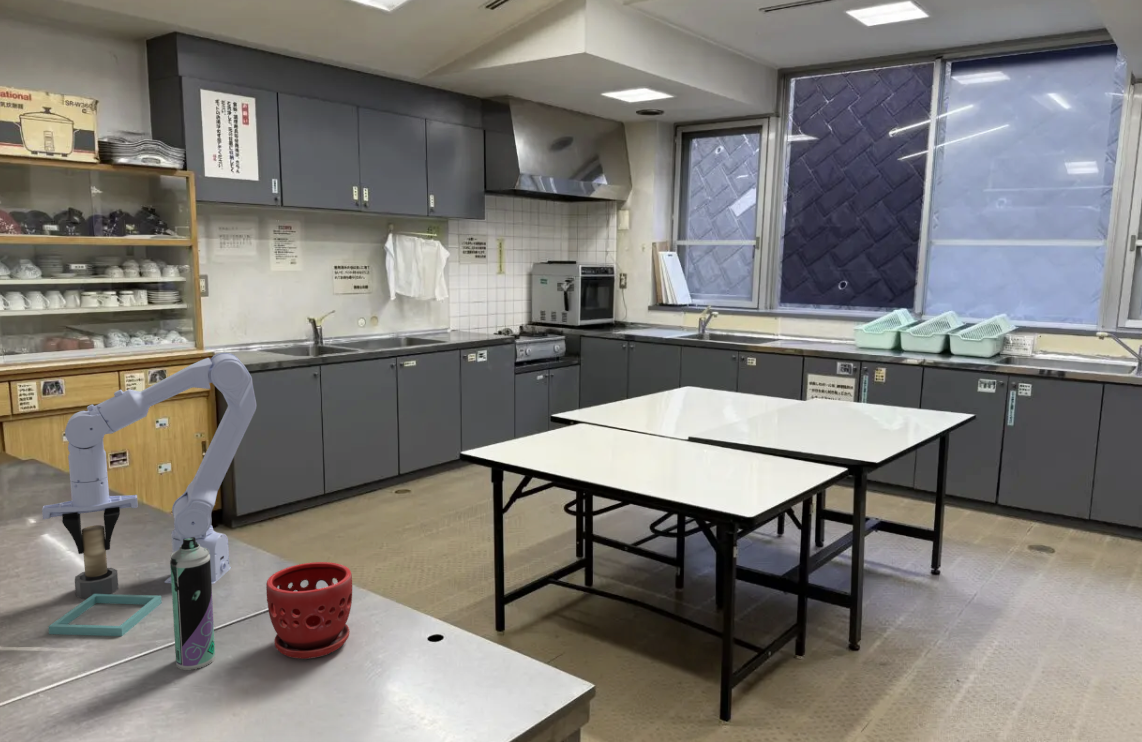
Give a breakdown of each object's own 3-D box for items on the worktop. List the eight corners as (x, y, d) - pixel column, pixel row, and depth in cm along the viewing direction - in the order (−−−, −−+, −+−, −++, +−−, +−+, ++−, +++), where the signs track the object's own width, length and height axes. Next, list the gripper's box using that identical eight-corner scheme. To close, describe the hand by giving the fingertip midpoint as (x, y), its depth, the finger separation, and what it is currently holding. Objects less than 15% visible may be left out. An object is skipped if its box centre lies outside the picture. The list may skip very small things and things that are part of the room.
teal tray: (161, 605, 137) (161, 595, 137) (122, 638, 125) (121, 628, 125) (94, 603, 137) (94, 593, 137) (49, 636, 125) (48, 626, 125)
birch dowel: (111, 569, 142) (108, 525, 141) (100, 577, 139) (96, 532, 137) (92, 568, 142) (89, 524, 141) (80, 576, 139) (77, 531, 137)
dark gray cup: (126, 585, 144) (124, 568, 144) (104, 601, 138) (103, 583, 137) (91, 584, 144) (89, 567, 144) (67, 600, 138) (66, 582, 137)
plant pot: (369, 633, 129) (368, 566, 127) (318, 673, 117) (316, 599, 115) (305, 619, 133) (303, 553, 131) (250, 655, 121) (247, 584, 119)
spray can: (199, 672, 116) (192, 546, 113) (167, 667, 117) (160, 543, 114) (222, 654, 121) (216, 533, 118) (192, 649, 122) (185, 530, 119)
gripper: (135, 467, 145) (139, 536, 147) (42, 477, 137) (48, 549, 140) (135, 477, 139) (140, 549, 141) (38, 488, 131) (45, 563, 134)
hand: (94, 550), depth 140 cm, fingers closed on birch dowel, 3 cm apart
